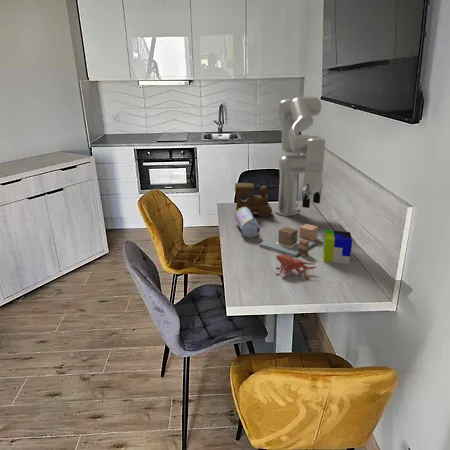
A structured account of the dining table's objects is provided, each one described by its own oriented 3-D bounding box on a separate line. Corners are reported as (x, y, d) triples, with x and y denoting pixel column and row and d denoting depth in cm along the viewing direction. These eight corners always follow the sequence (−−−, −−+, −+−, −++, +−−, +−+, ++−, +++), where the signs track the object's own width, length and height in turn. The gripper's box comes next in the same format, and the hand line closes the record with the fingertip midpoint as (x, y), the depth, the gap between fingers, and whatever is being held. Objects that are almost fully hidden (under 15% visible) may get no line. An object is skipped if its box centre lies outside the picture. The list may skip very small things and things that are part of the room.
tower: (301, 252, 170) (302, 239, 168) (307, 254, 168) (309, 240, 166) (298, 254, 168) (299, 241, 166) (304, 256, 166) (305, 242, 164)
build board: (281, 234, 189) (281, 232, 189) (315, 244, 178) (315, 241, 178) (259, 246, 176) (259, 243, 176) (294, 257, 165) (295, 254, 165)
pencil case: (260, 238, 185) (261, 219, 182) (241, 239, 184) (242, 219, 181) (250, 223, 205) (251, 205, 201) (233, 224, 203) (234, 206, 200)
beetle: (275, 279, 147) (276, 247, 143) (275, 264, 159) (277, 235, 154) (316, 282, 145) (319, 250, 141) (314, 267, 157) (317, 237, 152)
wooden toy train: (234, 217, 212) (235, 187, 207) (234, 211, 223) (235, 182, 217) (272, 218, 212) (273, 188, 206) (270, 211, 223) (271, 182, 217)
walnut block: (285, 239, 181) (286, 226, 179) (296, 242, 177) (297, 229, 175) (278, 242, 176) (278, 230, 174) (289, 246, 173) (290, 233, 171)
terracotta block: (305, 235, 189) (306, 223, 187) (316, 238, 185) (317, 226, 183) (298, 239, 184) (299, 227, 182) (310, 242, 181) (311, 230, 179)
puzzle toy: (349, 264, 160) (352, 240, 157) (323, 261, 162) (326, 238, 158) (347, 254, 169) (350, 232, 166) (323, 251, 171) (325, 230, 168)
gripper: (315, 163, 182) (312, 199, 187) (296, 168, 169) (293, 207, 175) (331, 165, 177) (327, 202, 183) (312, 171, 165) (309, 210, 170)
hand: (311, 205), depth 179 cm, fingers open, 9 cm apart
